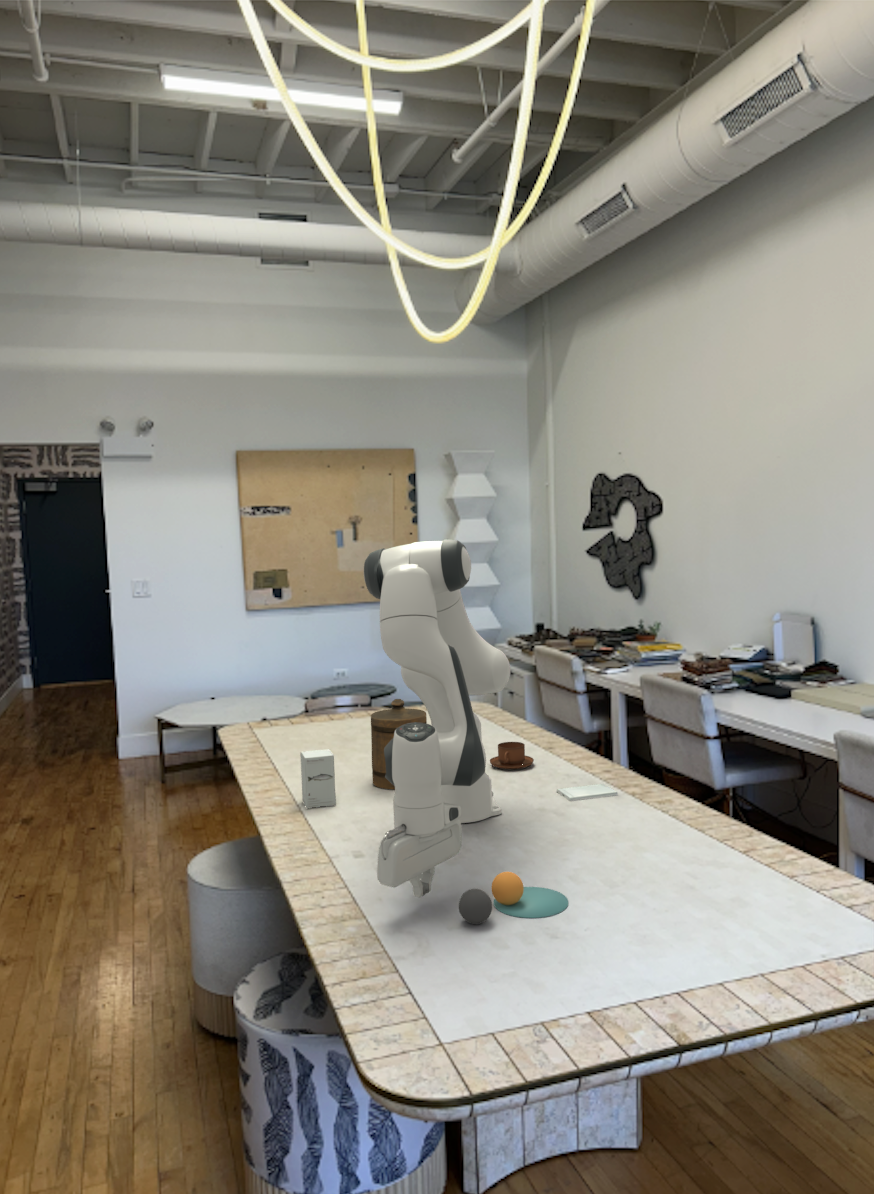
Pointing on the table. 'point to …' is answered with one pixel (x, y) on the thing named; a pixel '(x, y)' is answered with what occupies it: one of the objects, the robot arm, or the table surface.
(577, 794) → the hard drive
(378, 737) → the wooden container
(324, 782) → the supplement box
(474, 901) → the black ball
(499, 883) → the orange ball
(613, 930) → the table surface
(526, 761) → the cup and saucer
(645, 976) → the table surface
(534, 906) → the teal flat disc
